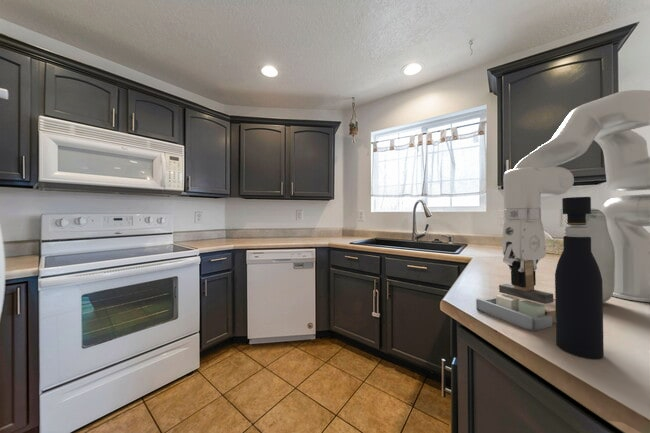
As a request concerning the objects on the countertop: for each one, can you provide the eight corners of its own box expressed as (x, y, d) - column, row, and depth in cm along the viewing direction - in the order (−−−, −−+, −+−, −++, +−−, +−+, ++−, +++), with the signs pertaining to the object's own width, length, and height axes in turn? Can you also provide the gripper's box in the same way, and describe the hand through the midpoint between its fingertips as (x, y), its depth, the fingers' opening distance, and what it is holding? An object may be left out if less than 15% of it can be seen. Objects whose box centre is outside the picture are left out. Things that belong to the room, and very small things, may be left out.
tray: (494, 305, 70) (494, 295, 70) (552, 326, 57) (552, 313, 57) (476, 309, 68) (476, 298, 68) (532, 331, 55) (532, 318, 55)
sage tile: (526, 300, 62) (518, 301, 61) (544, 305, 58) (536, 307, 57) (526, 315, 62) (518, 317, 61) (545, 322, 58) (536, 324, 57)
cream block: (503, 294, 67) (496, 295, 66) (519, 299, 63) (511, 300, 62) (504, 308, 67) (496, 310, 66) (519, 314, 63) (511, 315, 62)
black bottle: (614, 361, 44) (611, 195, 43) (572, 357, 45) (569, 196, 45) (584, 342, 50) (581, 197, 50) (548, 340, 51) (545, 199, 51)
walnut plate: (526, 301, 73) (525, 291, 73) (577, 316, 62) (577, 305, 62) (497, 306, 69) (497, 296, 69) (547, 324, 58) (547, 312, 58)
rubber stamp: (553, 302, 58) (550, 260, 59) (545, 303, 58) (542, 261, 58) (506, 290, 69) (504, 255, 69) (499, 292, 68) (497, 256, 68)
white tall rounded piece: (568, 293, 79) (567, 208, 79) (617, 303, 70) (616, 207, 70) (560, 300, 73) (558, 208, 73) (612, 311, 65) (610, 207, 65)
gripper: (515, 216, 57) (517, 293, 57) (559, 214, 62) (560, 285, 62) (485, 216, 64) (487, 285, 64) (527, 215, 69) (528, 278, 70)
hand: (523, 284), depth 63 cm, fingers closed on rubber stamp, 3 cm apart
